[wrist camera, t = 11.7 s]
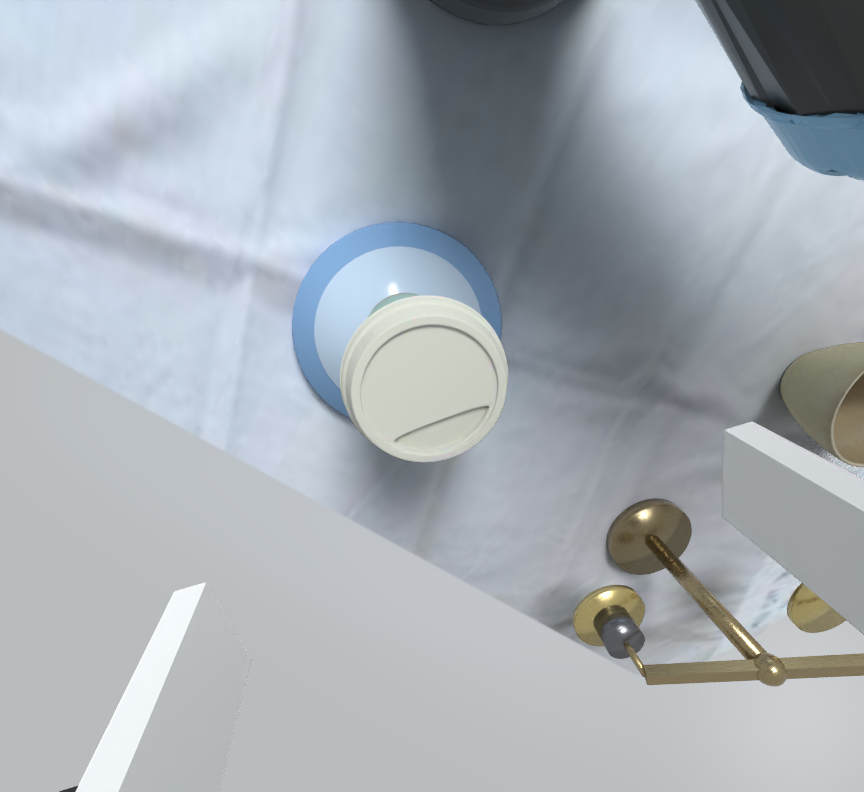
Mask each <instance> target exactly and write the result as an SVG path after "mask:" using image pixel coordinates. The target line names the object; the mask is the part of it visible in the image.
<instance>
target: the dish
mask: <svg viewBox="0 0 864 792" xmlns="http://www.w3.org/2000/svg"><path fill="white" fill-rule="evenodd" d="M398 293H414V294H418V295H432V296H441V297H446V298H450V299H453V300H456V301H459V302H461V303H463V304H465V305H467V306H469V307H471V308H472V309H474V310H475V311H477V312H478V313H479V314H480V315H481V316H483V317H484V318H485V319H486V320H487V322H488V323H489V324H490V325H491V326H492V328H493V329H494V331H495V332H496V334H497V336H498V338H499V340H500V339H501V324H502V319H501V310H500V304H499V300H498V296H497V293H496V290H495V288H494V285H493V283H492V280H491V279H490V277H489V275H488V273H487V272H486V270H485V268H484V267H483V266H482V264H481V263H480V262H479V260H478V259H477V258H476V257H475V256H474V255H473V254H472V253H471V252H470V251H469V250H468V249H467V248H466V247H465V246H463V245H462V244H461V243H460V242H458V241H457V240H456V239H454V238H452V237H450V236H449V235H447V234H445V233H443V232H441V231H438V230H436V229H433V228H431V227H427V226H423V225H419V224H414V223H403V222H390V223H381V224H375V225H370V226H367V227H364V228H361V229H358V230H356V231H354V232H352V233H350V234H348V235H346V236H344V237H342V238H341V239H339V240H338V241H337V242H335V243H334V244H332V245H331V246H330V247H329V248H328V249H327V250H326V251H325V252H324V253H322V254H321V255H320V256H319V258H318V259H317V260H316V261H315V263H314V264H313V265H312V266H311V268H310V269H309V271H308V273H307V274H306V276H305V278H304V279H303V281H302V284H301V286H300V289H299V291H298V293H297V297H296V301H295V305H294V310H293V318H292V336H293V342H294V349H295V352H296V355H297V359H298V362H299V364H300V367H301V369H302V371H303V373H304V375H305V377H306V378H307V380H308V381H309V383H310V385H311V386H312V387H313V389H314V390H315V391H316V392H317V393H318V395H319V396H320V397H321V398H322V399H323V400H324V401H325V402H327V403H328V404H329V405H330V406H331V407H333V408H334V409H335V410H337V411H338V412H340V413H341V414H343V415H345V416H347V417H349V418H350V416H349V414H348V412H347V410H346V407H345V405H344V402H343V399H342V395H341V389H340V368H341V362H342V358H343V355H344V352H345V349H346V347H347V345H348V343H349V341H350V339H351V337H352V336H353V334H354V333H355V331H356V330H357V329H358V328H359V326H360V325H361V324H362V323H363V322H364V321H365V320H366V319H367V318H368V316H369V314H370V313H371V311H372V310H373V308H374V307H375V306H376V305H377V304H378V303H379V302H380V301H382V300H383V299H385V298H387V297H389V296H391V295H394V294H398ZM350 419H351V418H350Z"/></svg>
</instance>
